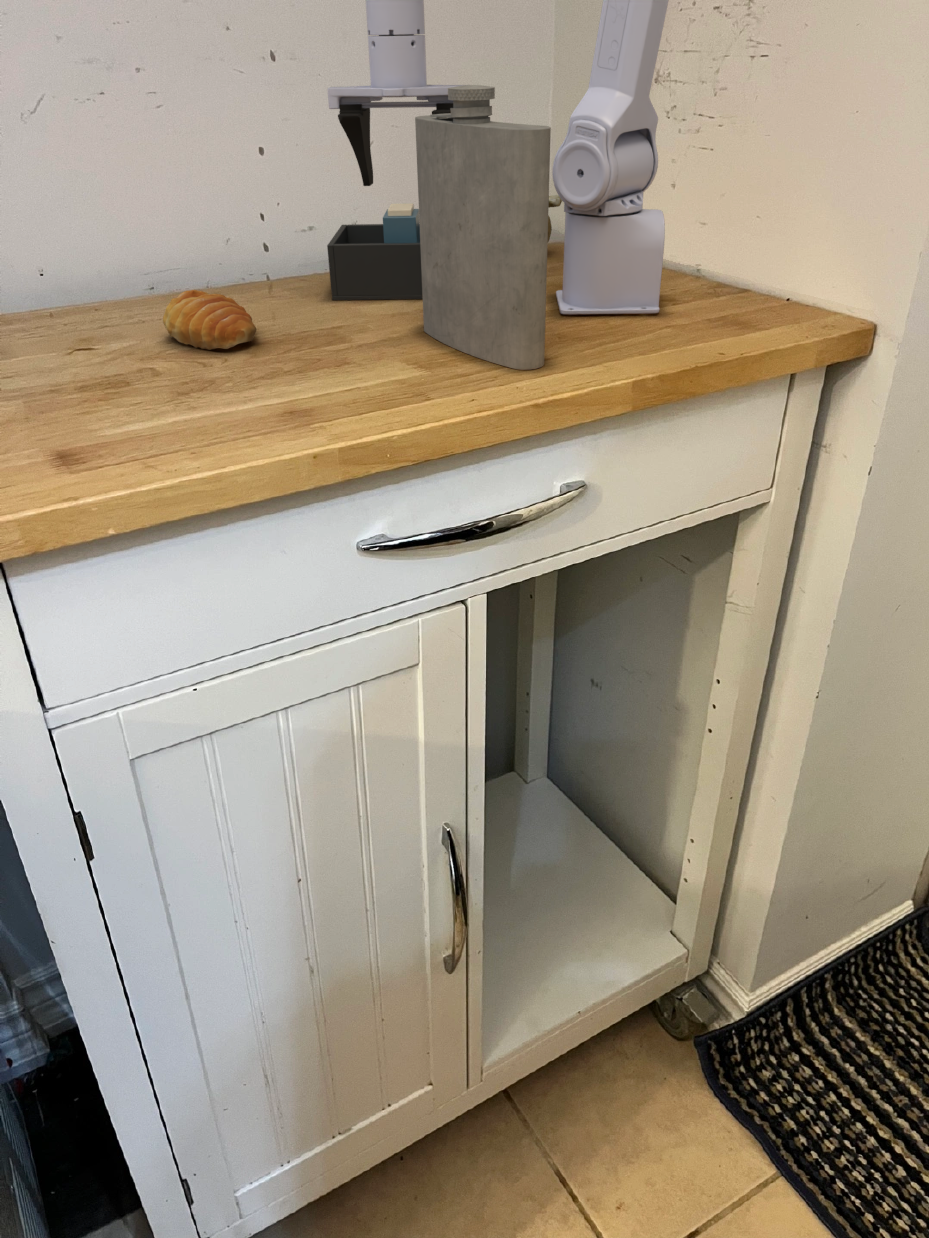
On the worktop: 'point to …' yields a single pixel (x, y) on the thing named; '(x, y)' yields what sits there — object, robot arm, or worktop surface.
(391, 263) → the bin
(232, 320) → the pastry
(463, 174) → the hip flask
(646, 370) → the worktop surface
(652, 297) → the robot arm
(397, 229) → the juice carton
